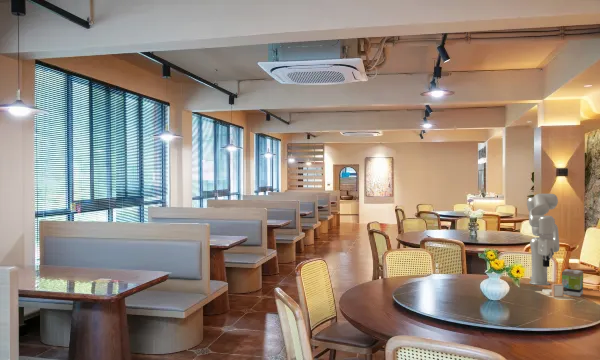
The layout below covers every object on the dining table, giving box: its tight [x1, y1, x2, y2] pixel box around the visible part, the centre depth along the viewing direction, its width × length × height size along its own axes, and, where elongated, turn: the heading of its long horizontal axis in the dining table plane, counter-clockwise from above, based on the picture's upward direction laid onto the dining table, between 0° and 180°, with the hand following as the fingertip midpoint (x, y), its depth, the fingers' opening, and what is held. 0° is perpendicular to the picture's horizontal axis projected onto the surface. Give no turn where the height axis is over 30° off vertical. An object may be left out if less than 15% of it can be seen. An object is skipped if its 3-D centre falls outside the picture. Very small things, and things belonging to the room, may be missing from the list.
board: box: [534, 290, 576, 301], centre depth 271 cm, size 22×11×1 cm, turn 5°
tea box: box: [561, 268, 584, 297], centre depth 278 cm, size 15×10×15 cm, turn 143°
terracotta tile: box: [551, 283, 563, 297], centre depth 268 cm, size 2×6×7 cm, turn 95°
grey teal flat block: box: [542, 288, 552, 295], centre depth 275 cm, size 2×6×7 cm
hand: (546, 266), depth 279 cm, fingers closed
